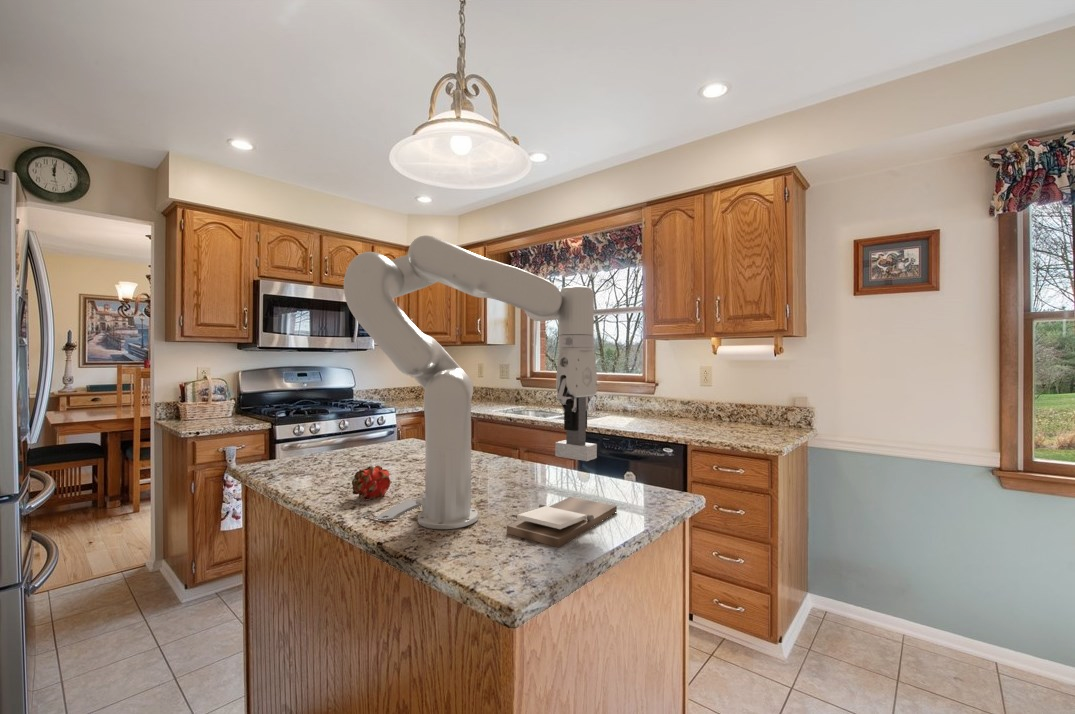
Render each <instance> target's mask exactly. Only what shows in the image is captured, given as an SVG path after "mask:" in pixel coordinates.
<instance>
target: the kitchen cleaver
mask: <svg viewBox="0 0 1075 714" xmlns="http://www.w3.org/2000/svg"><path fill="white" fill-rule="evenodd" d="M406 500H407V501H404V502H403V503H400V504H397V505H396V506H393V507H392V508H390V509H389V510H387V511H386V512H383V513H381V514H380V515H379V516H377V517H376V518H375V517H374V518H373V519H378V520H383V521H390V520H393V519H395V518H396V517H397V516H399V515H401V514H403V515H405V514H406V513H408V512H407V511H409V512H411V511H412V509H413V510H415V509H418V508H420V507H422V506H421V505H418V504H416V499H406ZM419 506H420V507H419ZM417 507H418V508H417ZM414 508H415V509H414ZM410 510H411V511H410ZM405 512H406V513H405ZM401 516H402V515H401ZM383 517H386V518H383ZM399 517H400V516H399ZM397 518H398V517H397ZM397 518H396V519H397ZM396 519H395V520H396Z"/></svg>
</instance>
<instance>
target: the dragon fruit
mask: <svg viewBox="0 0 1075 714" xmlns="http://www.w3.org/2000/svg"><path fill="white" fill-rule="evenodd" d="M390 475H391V474H390V472H389V470H388V469H387V468H383V467H382V466H381V465H375V466H372V465H371V466H368V467H367V468H364V469H360V470H359V471H356V472H355V475H354V476H353V479H352V480H351V485H352V490H353V491H352V494H353V495H358V497H359V498H361V499H362V500H365V501H366V499H368V500H367V501H370V499H371V498H375V499H382V498H383V497H384V496H383V495H385V496H386V493H387V491H388V490H389V489H390V486H391V484H393V481H391V479H390Z"/></svg>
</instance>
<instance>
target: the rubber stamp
mask: <svg viewBox="0 0 1075 714" xmlns="http://www.w3.org/2000/svg"><path fill="white" fill-rule="evenodd" d="M568 397H573V395H571V394H569V393H568ZM568 400H570V401H571V403H572V400H571V399H568ZM576 412H578V430H577V431H571V430H565V431H566V439H564V440H558V441H555V445H554V447H555V451H554V456H555V457H557V458H559V457H560V458H565V459H572V460H578V461H584V462H589V461H591V460H595V459H597V458H598V456H597V454H598V453H597V452H598V451H597V450H598V444H597V443H592V442H586V439H587V438H586V437H587V436H586V435H587V434H586V433H587V431H586V429H587V428H586V397H577V409H576Z"/></svg>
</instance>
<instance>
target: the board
mask: <svg viewBox="0 0 1075 714" xmlns="http://www.w3.org/2000/svg"><path fill="white" fill-rule="evenodd" d="M544 506H546V505H545V504H544V503H543V504H542V503H539V504H538V508H541V507H544ZM617 506H618V505H615V504H610V503H609V504H608V503H604V502H599V501H594V500H593V501H592V500H589V499H588V500H587V499H583V498H578V497H573V496H569V497H567V498H565V499H562V500H560V501H557V502H556V503H553V504H552V505H549V506H548V507H552V508H557V509H561V510H566V511H571V512H575V513H580V514H585V515H586V519H585V520H582V521H580V522H577V523H575V524H572V525H570V526H567V527H565V528H562V529H557V528H553V527H549V526H545V525H541V524H537V523H532V522H528V521H524V520H520V519H517V521H515V522H512V523H510V524H508V525H506V534H508V535H510V536H515V537H518V538H523V539H526V540H530V541H532V542H536V543H541V544H544V545H549V546H552V547H555V546H556V548H560V547H562V546H564V545H566V544H567V543H568V541H569V542H570V541H573V539H576V538H577V537H578V536H581V535H582V534H584V533H585V532H587V531H589V530H591V529H592V528H594V527H595V526H597V525H599V524H600V523H602V522H603V521H602V520H604V519H605V520H607V519H608V518H607V517H609V516H610V517H612V516H613V515H612V514H614V513H615V512H618V511H617ZM538 508H537V509H538ZM615 514H616V513H615ZM615 514H614V515H615ZM611 515H612V516H611ZM610 517H609V518H610ZM606 518H607V519H606ZM605 520H604V521H605ZM601 521H602V522H601ZM599 522H600V523H599ZM598 523H599V524H598ZM596 524H597V525H596ZM594 525H595V526H594ZM593 526H594V527H593ZM591 527H592V528H591ZM588 529H589V530H588ZM583 532H584V533H583Z"/></svg>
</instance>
